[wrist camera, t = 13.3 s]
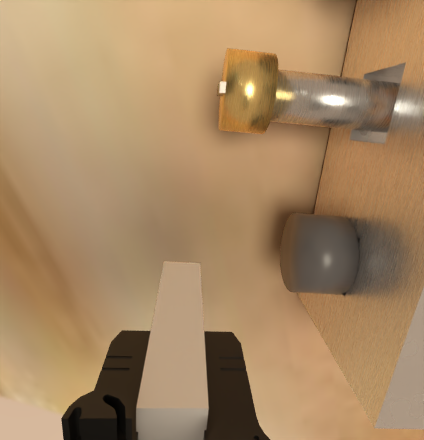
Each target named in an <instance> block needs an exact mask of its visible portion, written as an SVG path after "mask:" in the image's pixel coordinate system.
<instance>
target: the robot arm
mask: <svg viewBox="0 0 424 440" xmlns="http://www.w3.org/2000/svg"><path fill="white" fill-rule="evenodd" d="M61 419H62V428H63V438H64V440H270V439H269V438H268V437H267V436H266V435H265V433H264V432H263V430H262V429H261V427H260V425H259V423H258V420H257V417H256V413H255V408H254V403H253V399H252V394H251V389H250V385H249V380H248V375H247V371H246V366H245V361H244V357H243V352H242V347H241V343H240V342H239V341H238V339H237V338H236V337H235V335H234V334H233V333H232V332H208V331H204V320H203V302H202V285H201V268H200V263H189V262H166V261H164V263H163V268H162V274H161V279H160V284H159V290H158V295H157V300H156V306H155V311H154V316H153V322H152V327H151V331H124V330H122V331H121V332H120V333H119V334H118V335H117V336H116V337H115V338H114V340H113V341H112V342H111V344H110V347H109V350H108V353H107V355H106V359H105V361H104V364H103V367H102V371H101V372H100V375H99V378H98V381H97V384H96V387H95V389H94V391H92V392H90V393H88V394H86V395H83V396H81V397H80V398H79V399H77V400H76V401H75V402H74V403H73V404H71V405H70V406H69V408H68V409H67V411H66V412H65V414H64V415H63V417H62V418H61Z"/></svg>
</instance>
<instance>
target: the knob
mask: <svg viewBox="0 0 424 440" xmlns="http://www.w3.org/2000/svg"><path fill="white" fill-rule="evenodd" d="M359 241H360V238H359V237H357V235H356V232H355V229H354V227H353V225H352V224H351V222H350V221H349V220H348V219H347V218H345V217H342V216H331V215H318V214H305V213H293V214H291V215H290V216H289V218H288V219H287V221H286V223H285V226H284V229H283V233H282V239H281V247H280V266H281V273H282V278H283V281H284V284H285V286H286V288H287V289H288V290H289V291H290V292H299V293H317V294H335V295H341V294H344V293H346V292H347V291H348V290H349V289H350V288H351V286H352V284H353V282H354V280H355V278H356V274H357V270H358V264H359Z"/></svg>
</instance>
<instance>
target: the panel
mask: <svg viewBox="0 0 424 440" xmlns="http://www.w3.org/2000/svg"><path fill="white" fill-rule="evenodd" d="M342 77H350V78H359V79H368V80H377V81H386V82H395V83H401V84H400V87H399V91H398V95H397V99H396V103H395V107H394V110H393V114H392V118H391V122H390V126H389V130H388V133H382V132H372V131H362V130H351V129H341V128H331V131H330V136H329V140H328V145H327V150H326V155H325V160H324V165H323V170H322V175H321V180H320V185H319V189H318V194H317V199H316V204H315V209H314V214H318V215H331V216H342V217H345V218H347V219H348V220H349V221H350V222H351V224H352V225H353V227H354V229H355V232H356V235H357V237H359V238H360V241H359V264H358V270H357V274H356V278H355V280H354V282H353V284H352V286H351V288H350V289H349V290H348V291H347V292H346V293H344V294H341V295H335V294H317V293H299V292H298V293H297V294H298V296H299V298H300V299H301V301H302V303H303V305H304V306H305V308H306V310H307V312H308V313H309V315H310V317H311V319H312V320H313V322H314V324H315V326H316V327H317V329H318V331H319V333H320V334H321V336H322V338H323V340H324V341H325V343H326V345H327V347H328V348H329V350H330V352H331V353H332V355H333V357H334V359H335V360H336V362H337V364H338V366H339V367H340V369H341V371H342V373H343V374H344V376H345V378H346V380H347V381H348V383H349V385H350V387H351V388H352V390H353V392H354V394H355V395H356V397H357V399H358V401H359V402H360V404H361V406H362V408H363V409H364V411H365V413H366V414H367V416H368V418H369V420H370V421H371V423H372V425H373V427H374V428H388V429H424V0H357V3H356V8H355V13H354V18H353V23H352V28H351V32H350V37H349V42H348V47H347V52H346V57H345V62H344V67H343V72H342Z"/></svg>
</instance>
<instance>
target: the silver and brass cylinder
mask: <svg viewBox="0 0 424 440" xmlns="http://www.w3.org/2000/svg"><path fill="white" fill-rule="evenodd" d="M400 84H401V83H395V82H386V81H377V80H368V79H359V78H350V77H341V76H332V75H323V74H314V73H304V72H295V71H286V70H278V59H277V56H276V54H273V53H264V52H256V51H247V50H238V49H229V48H227V51H226V55H225V61H224V67H223V75H222V81H220V83H219V84H218V90H217V96H220V105H219V130H224V131H235V132H245V133H256V134H264V133H265V131H266V130H267V127H268V125H269V122H279V123H290V124H300V125H310V126H321V127H331V128H341V129H351V130H362V131H372V132H382V133H388V130H389V126H390V122H391V118H392V114H393V110H394V107H395V103H396V99H397V95H398V91H399V87H400Z"/></svg>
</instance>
